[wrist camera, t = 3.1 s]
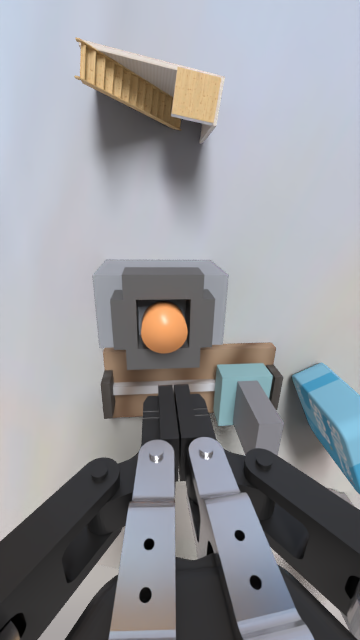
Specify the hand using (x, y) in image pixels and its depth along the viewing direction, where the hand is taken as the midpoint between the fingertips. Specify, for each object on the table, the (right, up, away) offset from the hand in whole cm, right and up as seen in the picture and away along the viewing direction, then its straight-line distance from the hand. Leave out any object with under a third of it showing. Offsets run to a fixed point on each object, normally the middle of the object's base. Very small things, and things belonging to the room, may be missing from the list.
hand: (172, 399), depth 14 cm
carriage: (+8, -5, +22) cm, 24 cm away
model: (-2, +24, +13) cm, 28 cm away
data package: (+20, -7, +28) cm, 35 cm away
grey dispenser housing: (-2, +8, +19) cm, 21 cm away
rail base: (+2, -4, +24) cm, 25 cm away
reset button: (-1, +4, +10) cm, 11 cm away
